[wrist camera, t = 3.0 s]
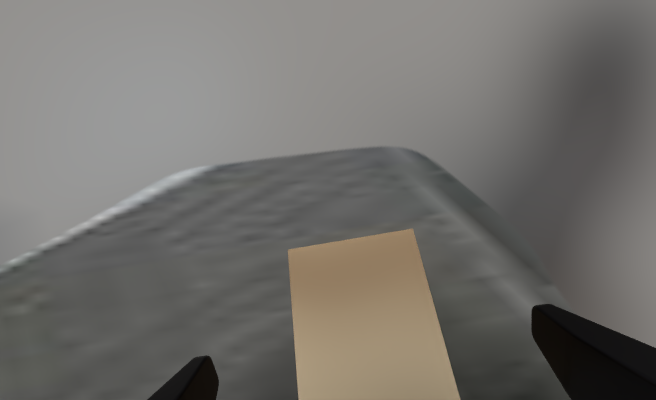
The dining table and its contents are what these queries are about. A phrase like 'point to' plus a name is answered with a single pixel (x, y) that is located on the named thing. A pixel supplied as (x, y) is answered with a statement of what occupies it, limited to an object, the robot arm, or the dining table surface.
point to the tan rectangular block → (367, 322)
